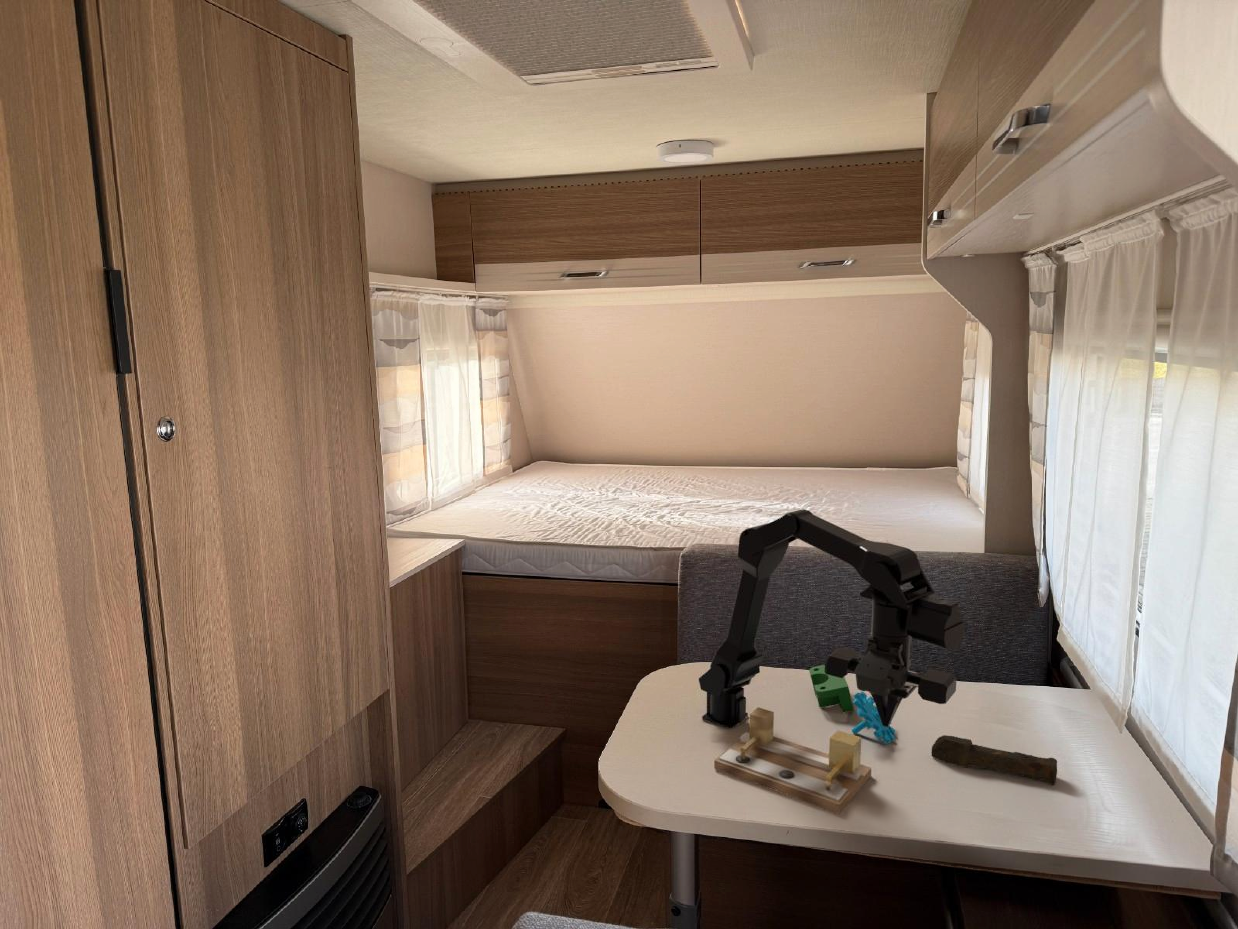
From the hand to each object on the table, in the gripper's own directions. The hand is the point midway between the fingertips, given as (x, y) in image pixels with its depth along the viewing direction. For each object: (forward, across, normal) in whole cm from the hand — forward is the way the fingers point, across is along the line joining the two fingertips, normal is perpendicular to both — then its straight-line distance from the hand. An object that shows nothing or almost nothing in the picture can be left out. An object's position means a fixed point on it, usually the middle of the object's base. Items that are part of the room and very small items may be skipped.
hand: (886, 725), depth 133 cm
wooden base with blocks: (+12, -14, -2) cm, 19 cm away
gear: (+12, -8, +18) cm, 23 cm away
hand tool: (+12, +12, +17) cm, 24 cm away
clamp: (+12, -20, +26) cm, 35 cm away
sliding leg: (+10, -6, -3) cm, 12 cm away
